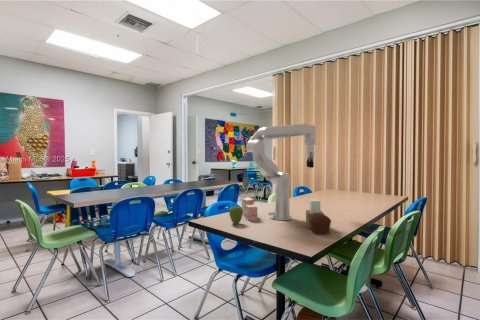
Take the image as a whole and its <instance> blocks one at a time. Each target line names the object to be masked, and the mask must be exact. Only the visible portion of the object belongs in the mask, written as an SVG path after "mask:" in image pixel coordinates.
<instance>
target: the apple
mask: <svg viewBox="0 0 480 320" xmlns="http://www.w3.org/2000/svg"><path fill="white" fill-rule="evenodd" d="M228 214H229V218H230V221H231V222H232V224H234V225H238V224H240V222H241V220H242V218H243V215H242V214H243V210H242V206H236V205H235V206H231V207H230V208H229V209H228Z"/></svg>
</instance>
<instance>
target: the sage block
mask: <svg viewBox="0 0 480 320" xmlns="http://www.w3.org/2000/svg"><path fill="white" fill-rule="evenodd" d="M308 203H309V204H308V207H309V209H308V210H309V211H310V212H311V213H320V210H321V200H319V199H308Z"/></svg>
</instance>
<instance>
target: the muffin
mask: <svg viewBox="0 0 480 320" xmlns="http://www.w3.org/2000/svg"><path fill="white" fill-rule="evenodd" d="M310 222H311V228H312V229H311V232H312V234H314V235H318V236H319V235H320V236H325V235H326V236H327V235H329V234H330V228H331V223H332V222H333V221H332V219H331V218H330V217H329V216H327V215H325V214H324V215H323V214H316V215H314V216H312V217H311V219H310Z"/></svg>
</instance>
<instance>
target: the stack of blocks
mask: <svg viewBox="0 0 480 320" xmlns="http://www.w3.org/2000/svg"><path fill="white" fill-rule="evenodd" d="M254 201H255V199H253V198H252V197H247V196H246V197H241V208H242V210H243V214H242V217H244V218H245V219H246V220H247V221H251V222H252V221H258V206H257V205H255V202H254Z"/></svg>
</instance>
